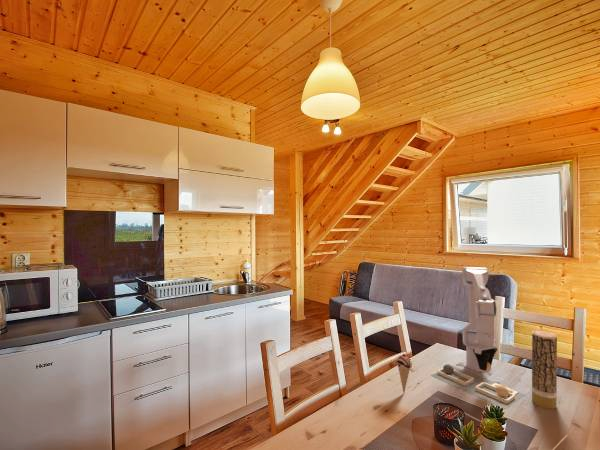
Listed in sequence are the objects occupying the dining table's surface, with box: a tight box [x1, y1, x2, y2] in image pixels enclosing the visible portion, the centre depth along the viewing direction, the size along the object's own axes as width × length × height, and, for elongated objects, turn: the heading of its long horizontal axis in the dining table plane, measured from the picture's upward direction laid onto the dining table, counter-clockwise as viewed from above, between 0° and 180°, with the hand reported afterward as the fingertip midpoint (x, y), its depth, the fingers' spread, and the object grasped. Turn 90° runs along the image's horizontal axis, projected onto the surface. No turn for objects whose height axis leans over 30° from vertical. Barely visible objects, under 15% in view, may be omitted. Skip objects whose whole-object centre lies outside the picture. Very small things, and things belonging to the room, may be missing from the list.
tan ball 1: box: [482, 362, 492, 373], centre depth 118 cm, size 4×4×4 cm
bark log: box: [531, 329, 558, 410], centre depth 109 cm, size 7×7×25 cm
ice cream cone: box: [395, 353, 413, 393], centre depth 117 cm, size 6×6×15 cm
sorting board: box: [430, 365, 526, 410], centre depth 122 cm, size 16×28×2 cm, turn 34°
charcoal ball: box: [442, 364, 454, 375], centre depth 130 cm, size 4×4×4 cm
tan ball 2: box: [496, 384, 509, 398], centre depth 113 cm, size 4×4×4 cm
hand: (485, 367), depth 118 cm, fingers closed on tan ball 1, 4 cm apart
